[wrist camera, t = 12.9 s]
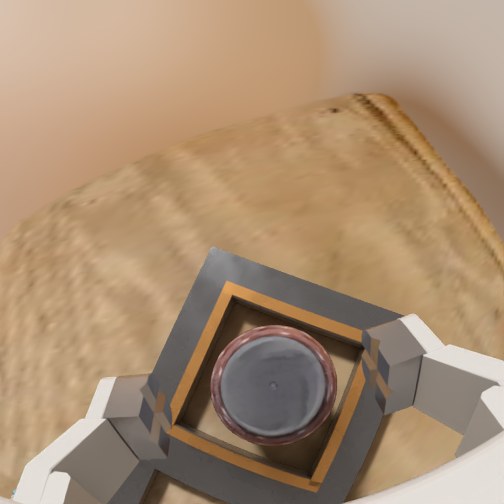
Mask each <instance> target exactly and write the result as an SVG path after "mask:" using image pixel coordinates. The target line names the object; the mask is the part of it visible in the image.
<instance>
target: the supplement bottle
mask: <svg viewBox="0 0 504 504" xmlns="http://www.w3.org/2000/svg"><path fill="white" fill-rule="evenodd" d="M210 382H211V386H210V388H211V390H210V392H211V400H212V402H213V405H214V408H215V410H216V412H217V414H218V416H219V418H220V419H221V421H222V422H223V423H224V424H225V426H226V427H227V428H228V429H229V430H230V431H232V433H234V434H235V435H237V436H239V437H240V438H242V439H244V440H247V441H249V442H251V443H254V444H259V445H264V446H281V445H287V444H291V443H294V442H297V441H299V440H301V439H304V438H305V437H307V436H308V435H310V434H312V433H313V432H314V431H315V430H316V429H318V428H319V427H320V426H321V425H322V423H323V422H324V421H325V420H326V418H327V417H328V415H329V414H330V412H331V409H332V407H333V405H334V402H335V398H336V393H337V376H336V372H335V368H334V365H333V362H332V360H331V358H330V356H329V354H328V353H327V352H326V350H325V349H324V347H323V346H322V345H321V344H320V343H319V342H318V341H317V340H315V339H314V338H313V337H311V336H310V335H308V334H307V333H305V332H303V331H300V330H298V329H295V328H292V327H288V326H281V325H268V326H261V327H257V328H254V329H251V330H249V331H246V332H244V333H242V334H241V335H239V336H238V337H236V338H235V339H234V340H233V341H231V342H230V343H229V344H228V345H227V346H226V347H225V349H224V350H223V351H222V352H221V354H220V355H219V357H218V359H217V361H216V363H215V366H214V368H213V371H212V376H211V381H210Z"/></svg>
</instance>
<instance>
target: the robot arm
mask: <svg viewBox="0 0 504 504" xmlns="http://www.w3.org/2000/svg"><path fill="white" fill-rule="evenodd" d="M361 343H362V344H363V346H364V348H365V351H364V352H363V354H362V355H361V356H362V369H363V374H364V377H365V379H366V382H367V384H368V386H369V387H370V388H372V389H375V390H376V392H375V399H376V401H377V403H378V405H379V407H380V409H381V411H382V412H383V414H384V415H387V414H390V413H393V412H396V411H399V410H402V409H405V408H407V407H410V406H413V407H414V408H416V409H418V410H419V411H421V412H423V413H425V414H426V415H428V416H430V417H432V418H433V419H435V420H437V421H439V422H440V423H442V424H444V425H446V426H448V427H449V428H451V429H453V430H455V431H457V432H458V433H460V434H462V435H464V436H463V438H462V440H461V442H460V444H459V446H458V448H457V450H456V453H455V456H456V459H454V460H452V461H450V462H448V463H446V464H444V465H442V466H440V467H438V468H436V469H434V470H431V471H429V472H427V473H425V474H423V475H420V476H418V477H416V478H413V479H411V480H409V481H406V482H404V483H401V484H399V485H396V486H394V487H391V488H388V489H386V490H383V491H380V492H377V493H374V494H371V495H368V496H365V497H362V498H359V499H356V500H353V501H349V502H346V503H342V504H504V361H502V360H499V359H496V358H492V357H489V356H486V355H482V354H479V353H476V352H473V351H469V350H466V349H463V348H460V347H457V346H453V345H450V344H449V345H447V346H445V345H444V344H443V343H442V342H441V341H440V340H439V339H438V338H437V337H436V335H435V334H434V333H433V332H432V331H431V330H430V329H429V328H428V327H427V326H426V325H425V324H424V322H423V321H422V320H421V319H420V318H419V317H418V316H417V315H415V314H410V315H407V316H404V317H402V318H399V319H397V320H394V321H391V322H388V323H385V324H381V325H378V326H375V327H372V328H368V329H365V330H363V331H362V342H361ZM159 385H160V383H159V382H158V380H157V378H156V376H155V375H154V374H151V373H150V374H139V375H128V376H119V377H104V378H103V379H101V380H100V382H99V384H98V387H97V389H96V392H95V394H94V397H93V399H92V402H91V405H90V407H89V410H88V412H87V415H86V418H85V419H80V420H79V421H78V422H76V423H75V424H74V425H73V426H72V427H70V428H69V429H68V430H67V431H66V432H65V433H63V434H62V435H61V436H60V437H59V438H57V439H56V440H55V441H54V442H53V443H52V444H50V445H49V446H48V447H47V448H46V449H44V450H43V451H42V452H41V453H40V454H38V455H37V456H36V457H35V458H34V459H32V460H31V461H30V462H29V463H28V464H26V466H25V468H24V471H23V473H22V476H21V479H20V481H19V484H18V486H17V489H16V492H15V495H14V497H13V500H10V499H7V498H4V497H1V496H0V504H107V503H108V502H109V501H110V499H111V498H112V497H113V495H114V494H115V493H116V492H117V490H118V489H119V488H120V486H121V485H122V484H123V482H124V481H125V480H126V479H127V477H128V476H129V475H130V473H131V472H132V471H133V469H134V468H135V467H136V465H137V464H138V463H139V460H149V459H165V458H168V452H169V444H170V439H169V437H168V435H167V434H166V432H167V431H168V430H169V429H170V428H171V427H172V412H171V407H170V404H169V401H168V399H167V397H166V395H164V394H163V393H161V392H160V391H159Z"/></svg>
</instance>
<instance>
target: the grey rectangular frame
mask: <svg viewBox="0 0 504 504" xmlns="http://www.w3.org/2000/svg"><path fill="white" fill-rule="evenodd" d="M234 302H236V303H239V304H241V305H244V306H246V307H249V308H251V309H254V310H256V311H259V312H262V313H264V314H267V315H269V316H272V317H275V318H277V319H280V320H283V321H285V322H288V323H291V324H293V325H296V326H299V327H301V328H304V329H307V330H310V331H312V332H315V333H318V334H321V335H323V336H326V337H329V338H332V339H335V340H338V341H340V342H343V343H346V344H349V345H352V346H355V347H358V348H360V350H359V353H358V356H357V359H356V362H355V364H354V367H353V370H352V373H351V375H350V378H349V381H348V383H347V386H346V389H345V391H344V394H343V396H342V399H341V402H340V404H339V407H338V409H337V411H336V414H335V416H334V419H333V421H332V423H331V426H330V428H329V430H328V433H327V435H326V437H325V439H324V442H323V444H322V446H321V448H320V451H319V453H318V455H317V457H316V459H315V461H314V463H313V465H312V467H311V469H310V472H305V471H302V470H299V469H296V468H293V467H290V466H287V465H284V464H281V463H278V462H275V461H272V460H269V459H267V458H264V457H261V456H258V455H256V454H253V453H251V452H248V451H246V450H243V449H241V448H238V447H236V446H233V445H231V444H228V443H226V442H224V441H222V440H219V439H217V438H215V437H212V436H210V435H208V434H206V433H204V432H202V431H199V430H197V429H195V428H193V427H191V426H189V425H187V424H185V423H183V422H181V420H182V418H183V416H184V414H185V411H186V409H187V407H188V405H189V402H190V400H191V398H192V396H193V394H194V391H195V389H196V387H197V385H198V383H199V380H200V378H201V376H202V374H203V371H204V369H205V367H206V365H207V363H208V360H209V358H210V356H211V354H212V351H213V349H214V347H215V345H216V343H217V340H218V338H219V336H220V334H221V331H222V329H223V327H224V325H225V322H226V320H227V318H228V316H229V314H230V311H231V309H232V307H233V305H234ZM402 317H404V315H401V314H398V313H395V312H392V311H389V310H387V309H384V308H381V307H378V306H375V305H372V304H370V303H367V302H364V301H361V300H358V299H356V298H353V297H350V296H347V295H344V294H342V293H339V292H336V291H333V290H330V289H328V288H325V287H322V286H319V285H317V284H314V283H311V282H308V281H305V280H303V279H300V278H297V277H294V276H292V275H289V274H286V273H283V272H281V271H278V270H275V269H272V268H270V267H267V266H264V265H261V264H259V263H256V262H253V261H250V260H248V259H245V258H242V257H239V256H237V255H234V254H231V253H228V252H226V251H223V250H220V249H218V248H215V247H212V248H211V250H210V252H209V254H208V256H207V258H206V260H205V262H204V264H203V266H202V268H201V270H200V272H199V274H198V276H197V278H196V280H195V283H194V285H193V287H192V289H191V291H190V293H189V295H188V297H187V299H186V301H185V303H184V305H183V307H182V310H181V312H180V314H179V316H178V318H177V320H176V322H175V324H174V327H173V329H172V331H171V333H170V335H169V337H168V339H167V342H166V344H165V346H164V348H163V350H162V352H161V355H160V357H159V359H158V361H157V363H156V366H155V368H154V370H153V372H152V374H154V375H155V376H156V378H157V380H158V382H159V383H160V385H159V391H160V392H161V393H163V394H164V395H166V397H167V399H168V401H169V404H170V407H171V412H172V427H171V428H170V429H169V430H168V431H167V432H166V434H167V435H168V437H169V439H170V444H169V452H168V458H165V459H149V460H139V463H138V464H137V465H136V467H135V468H134V469H133V471H132V472H131V473H130V475H129V476H128V477H127V479H126V480H125V481H124V482H123V484H122V485H121V486H120V488H119V489H118V490H117V492H116V493H115V494H114V495H113V497H112V498H111V499H110V501H109V502H108V503H107V504H144V502H145V499H146V497H147V495H148V493H149V491H150V488H151V486H152V484H153V482H154V480H155V477H156V475H157V473H158V471H160V472H162V473H164V474H166V475H168V476H170V477H172V478H174V479H176V480H178V481H180V482H182V483H184V484H186V485H188V486H190V487H192V488H195V489H197V490H199V491H201V492H203V493H206V494H208V495H210V496H213V497H215V498H217V499H220V500H222V501H225V502H227V503H230V504H342V503H343V502H344V500H345V498H346V497H347V495H348V493H349V491H350V489H351V487H352V485H353V483H354V481H355V479H356V477H357V475H358V473H359V470H360V468H361V466H362V464H363V462H364V460H365V458H366V455H367V453H368V451H369V448H370V446H371V444H372V442H373V439H374V437H375V434H376V432H377V429H378V427H379V424H380V422H381V419H382V417H383V412H382V411H381V409H380V407H379V405H378V403H377V401H376V399H375V392H376V390H375V389H372V388H370V387H369V386H368V384H367V382H366V379H365V377H364V374H363V369H362V356H361V355H362V354H363V352H364V351H365V348H364V346H363V344H362V343H361V342H362V331H363V330H365V329H368V328H372V327H375V326H378V325H381V324H385V323H388V322H391V321H394V320H397V319H399V318H402Z"/></svg>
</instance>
